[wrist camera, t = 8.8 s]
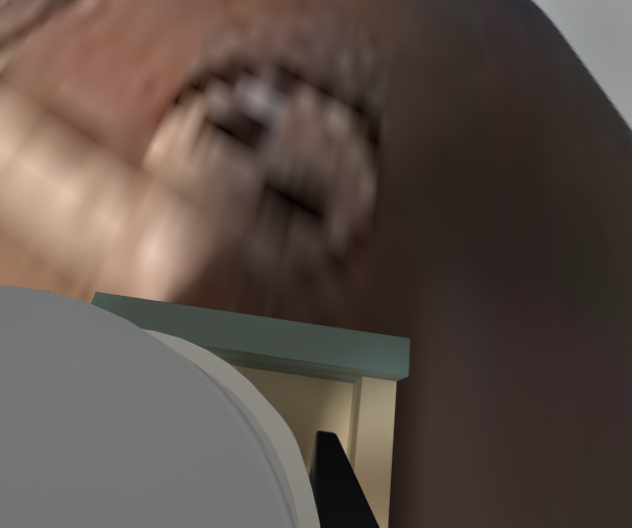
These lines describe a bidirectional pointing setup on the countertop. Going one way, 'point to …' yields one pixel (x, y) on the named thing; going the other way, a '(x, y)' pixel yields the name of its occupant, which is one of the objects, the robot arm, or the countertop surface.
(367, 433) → the stand
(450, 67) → the countertop surface
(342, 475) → the robot arm
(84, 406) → the mill
